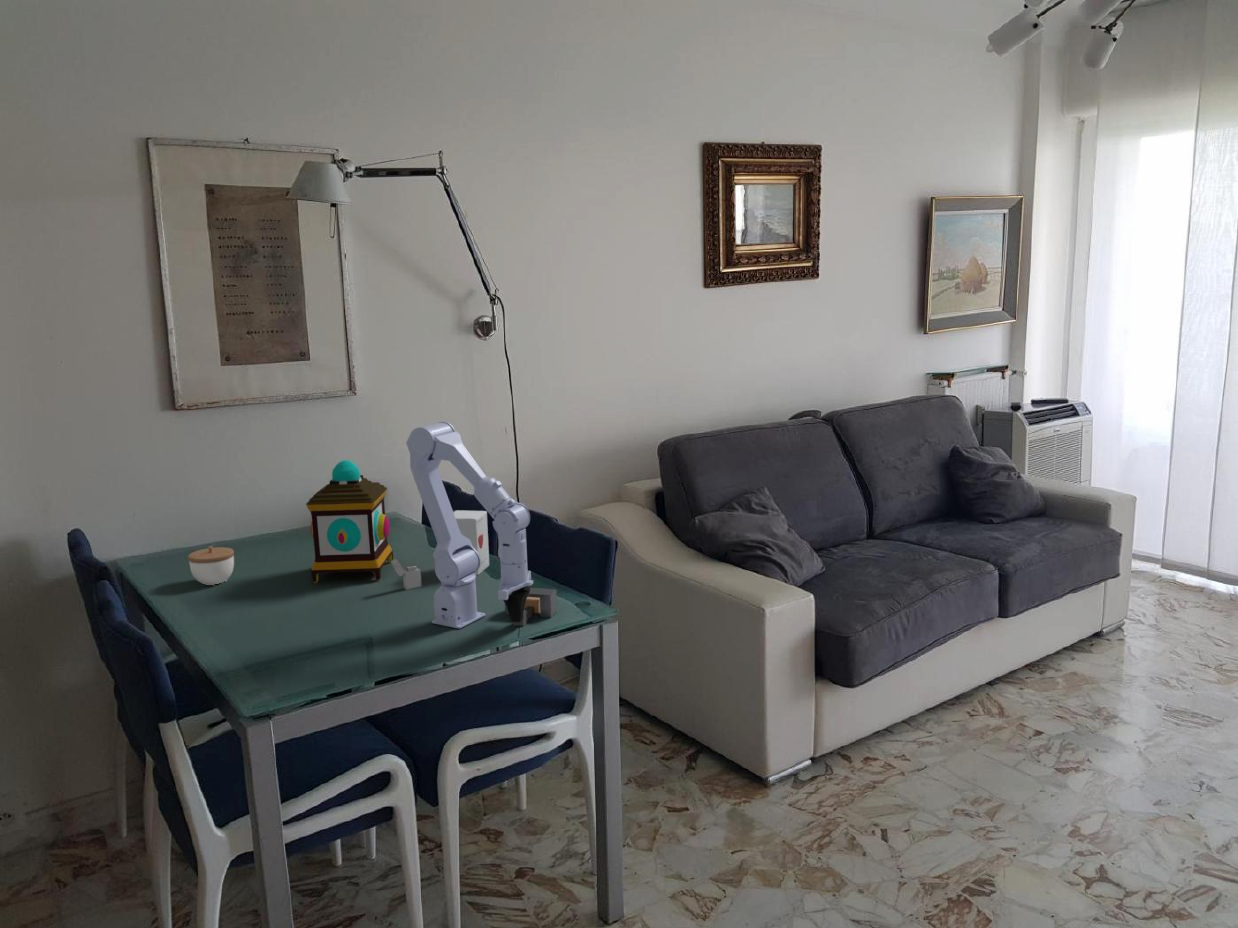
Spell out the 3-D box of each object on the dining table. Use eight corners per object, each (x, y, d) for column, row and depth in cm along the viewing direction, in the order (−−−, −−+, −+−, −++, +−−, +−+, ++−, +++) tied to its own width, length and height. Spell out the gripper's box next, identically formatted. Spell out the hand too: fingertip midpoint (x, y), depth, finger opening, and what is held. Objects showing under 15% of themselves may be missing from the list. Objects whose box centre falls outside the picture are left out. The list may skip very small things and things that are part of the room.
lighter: (418, 584, 238) (416, 553, 236) (421, 586, 237) (419, 555, 235) (392, 590, 234) (389, 559, 232) (395, 592, 232) (393, 560, 231)
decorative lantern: (304, 585, 239) (293, 468, 234) (325, 562, 259) (316, 454, 253) (384, 582, 240) (376, 466, 234) (399, 560, 259) (392, 451, 254)
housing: (551, 617, 212) (550, 595, 211) (505, 614, 215) (504, 591, 214) (557, 611, 216) (556, 589, 215) (511, 608, 219) (510, 586, 218)
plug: (526, 626, 207) (525, 613, 207) (510, 624, 208) (510, 611, 208) (542, 609, 217) (541, 597, 217) (527, 608, 218) (526, 596, 218)
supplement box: (478, 575, 244) (475, 518, 241) (445, 574, 246) (442, 518, 243) (490, 565, 253) (487, 510, 250) (458, 563, 254) (455, 509, 252)
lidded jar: (198, 591, 237) (194, 555, 235) (186, 581, 245) (182, 546, 243) (242, 582, 243) (238, 546, 241) (228, 573, 251) (225, 538, 250)
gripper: (519, 571, 196) (521, 634, 199) (542, 552, 210) (545, 610, 212) (487, 570, 198) (490, 631, 201) (512, 550, 212) (515, 608, 214)
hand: (516, 621), depth 207 cm, fingers closed
